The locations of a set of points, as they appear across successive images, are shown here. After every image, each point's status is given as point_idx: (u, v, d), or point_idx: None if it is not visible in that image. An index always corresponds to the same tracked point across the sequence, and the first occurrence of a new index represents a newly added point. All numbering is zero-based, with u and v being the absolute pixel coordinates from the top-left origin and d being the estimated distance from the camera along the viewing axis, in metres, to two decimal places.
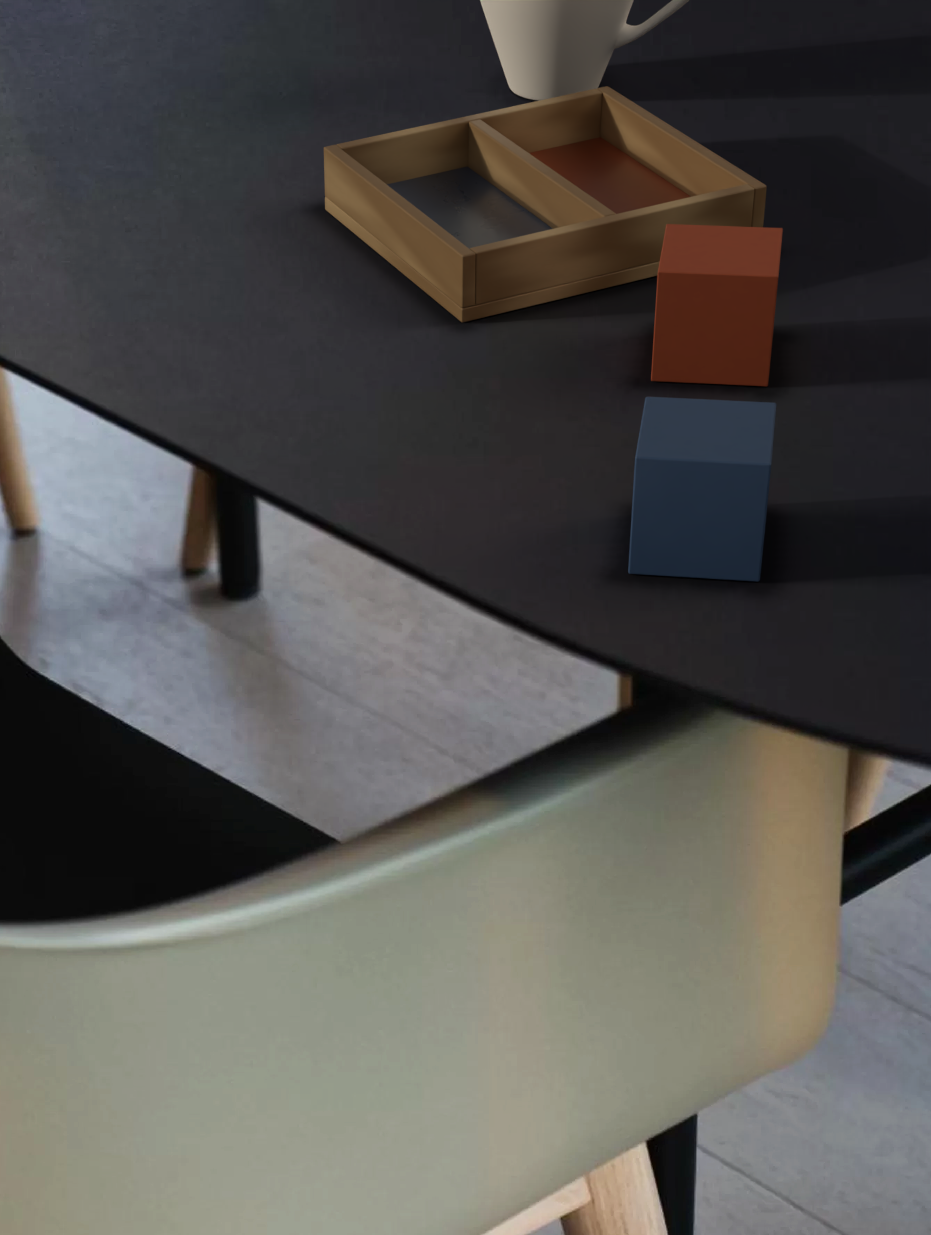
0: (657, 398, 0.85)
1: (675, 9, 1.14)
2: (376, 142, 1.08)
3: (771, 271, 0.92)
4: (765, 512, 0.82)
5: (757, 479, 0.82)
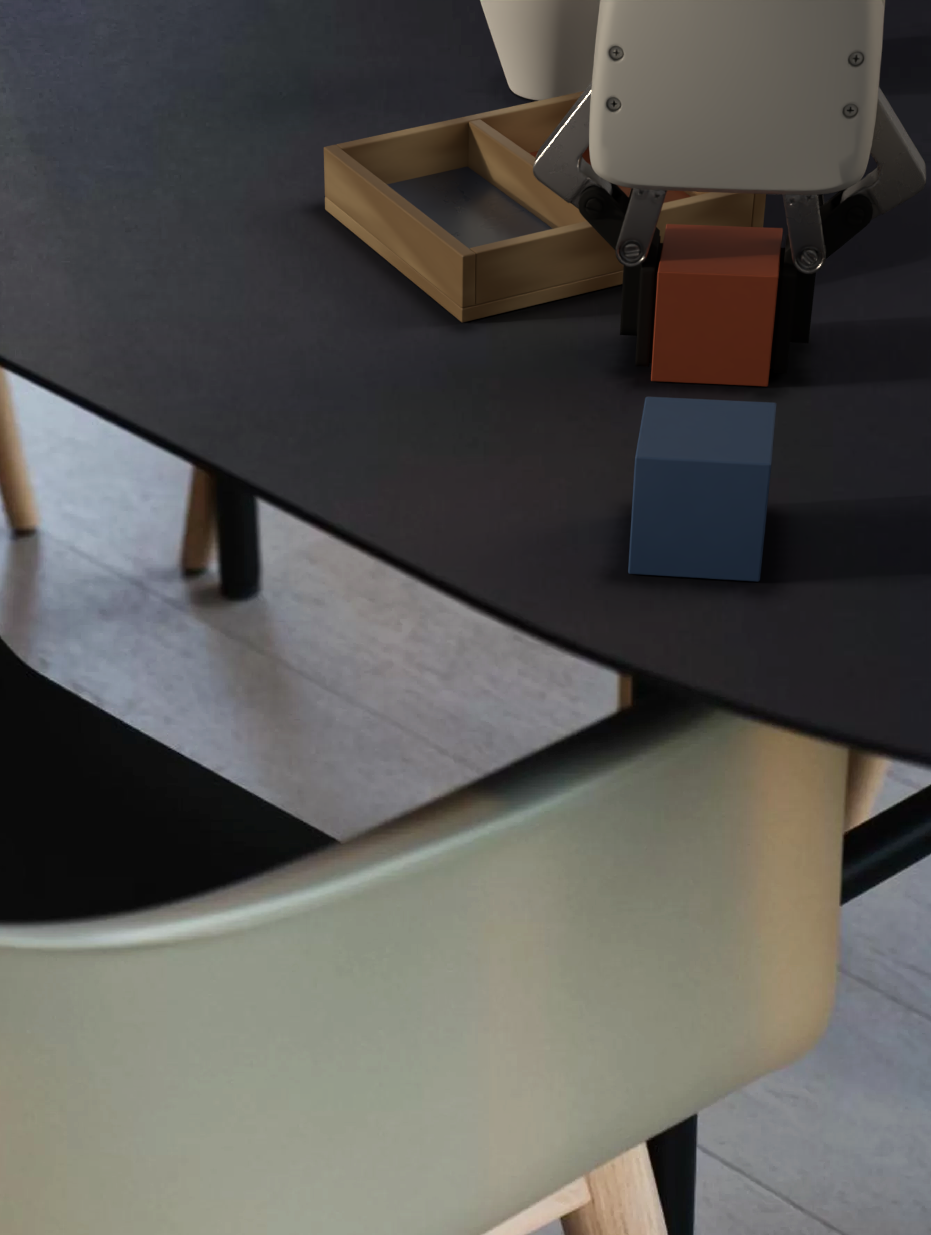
0: (657, 398, 0.85)
1: None
2: (376, 142, 1.08)
3: (771, 271, 0.92)
4: (765, 512, 0.82)
5: (757, 479, 0.82)
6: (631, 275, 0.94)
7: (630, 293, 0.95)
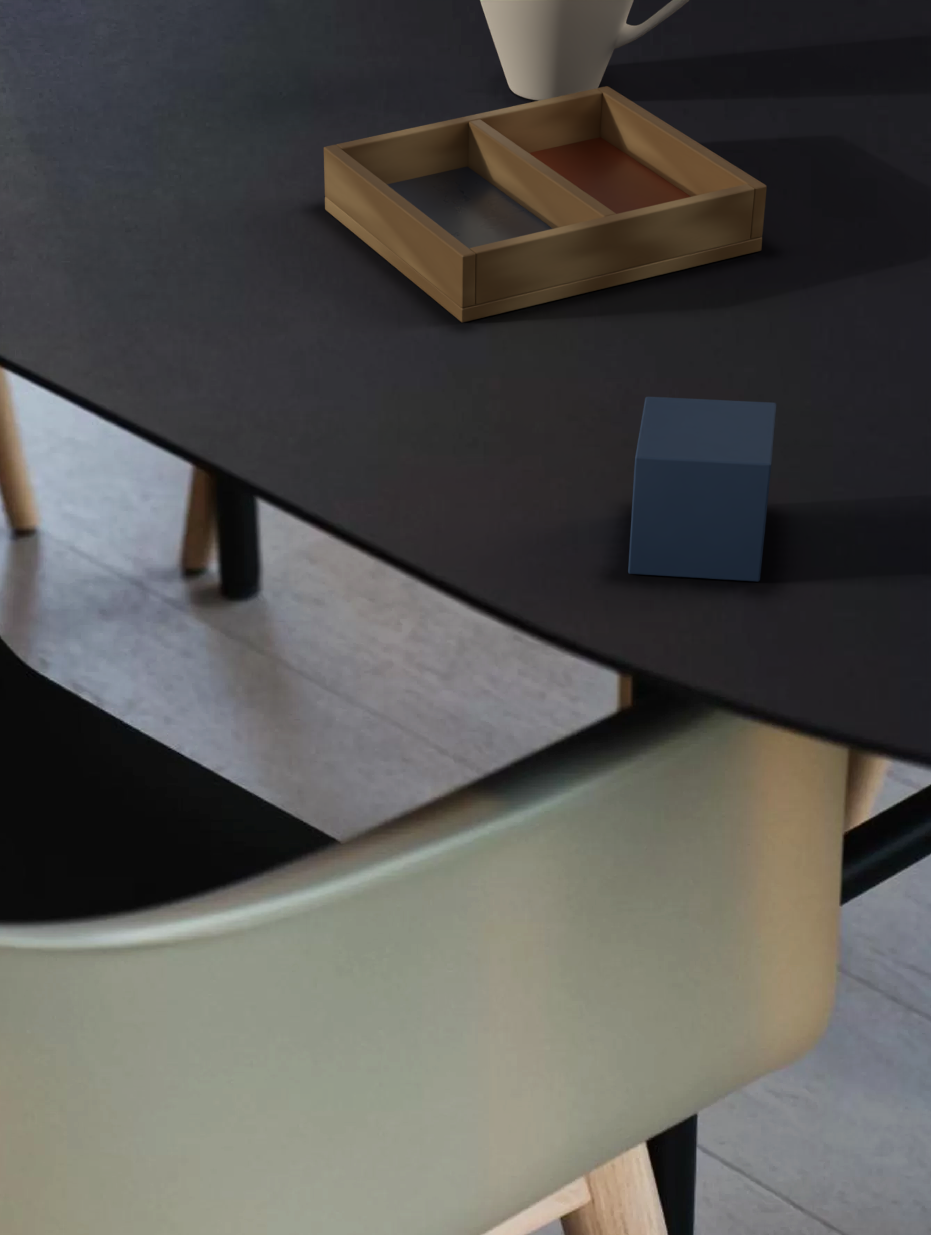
0: (657, 398, 0.85)
1: (675, 9, 1.14)
2: (376, 142, 1.08)
3: None
4: (765, 512, 0.82)
5: (757, 479, 0.82)
6: None
7: None
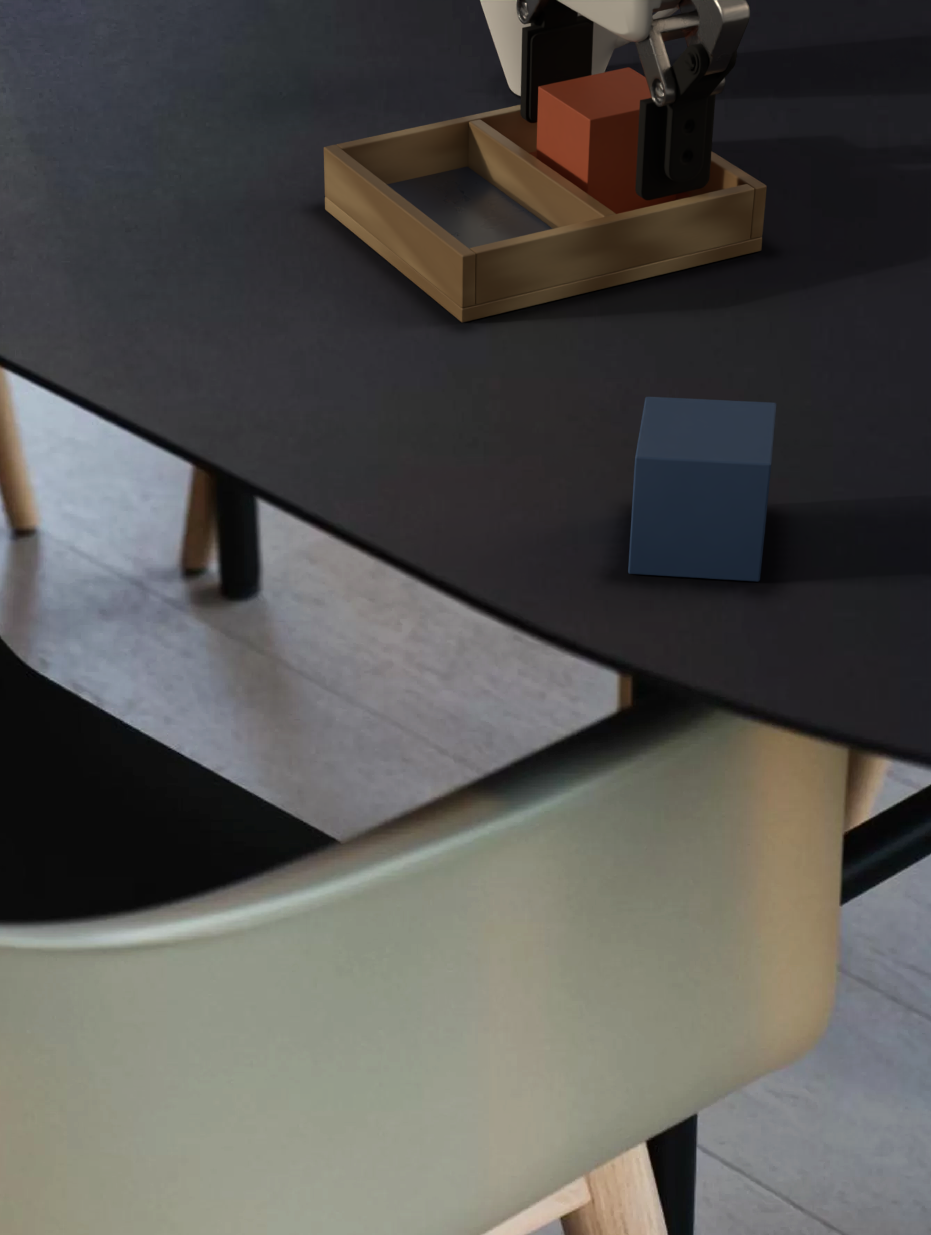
0: (657, 398, 0.85)
1: (675, 9, 1.14)
2: (376, 142, 1.08)
3: (594, 115, 1.02)
4: (765, 512, 0.82)
5: (757, 479, 0.82)
6: None
7: None
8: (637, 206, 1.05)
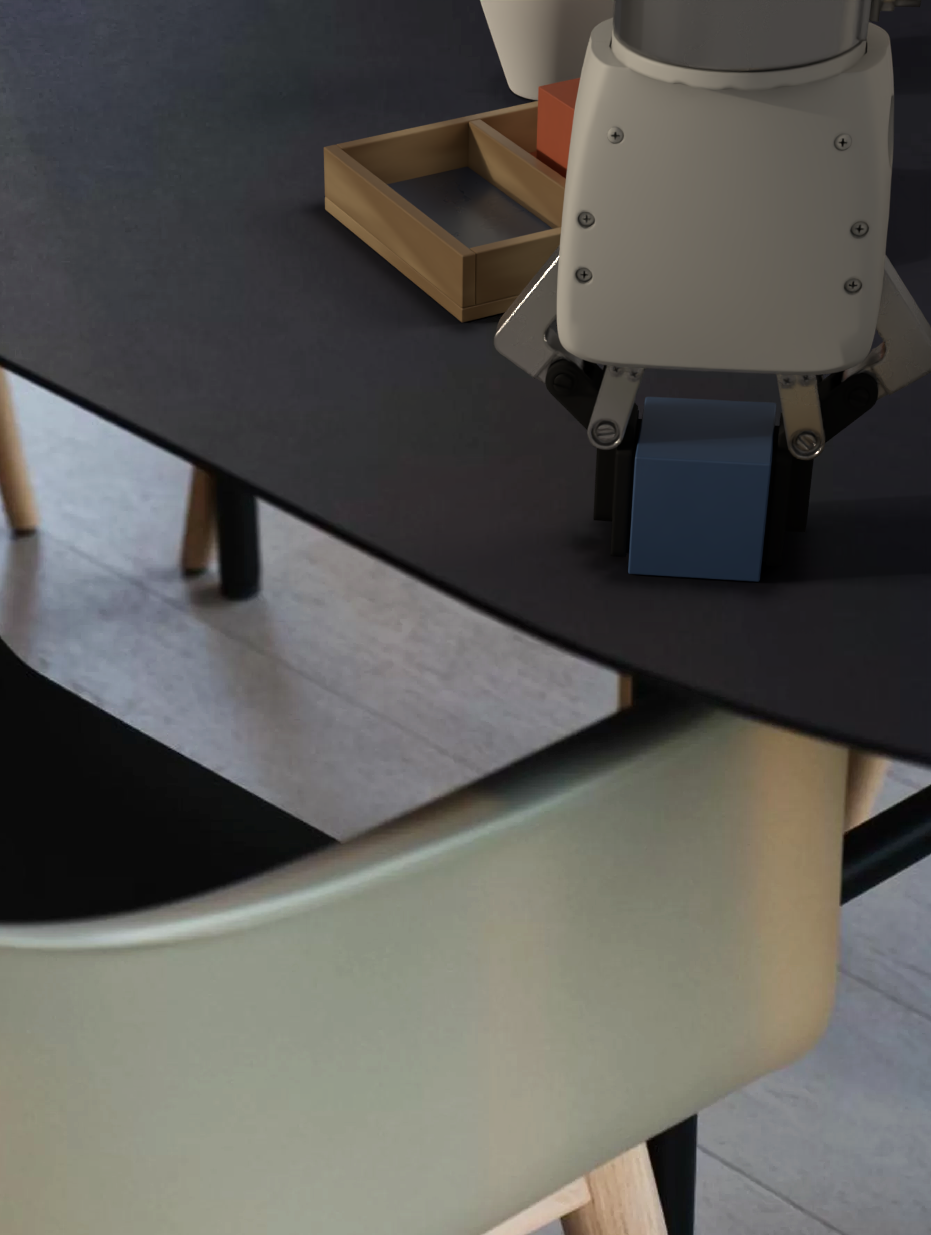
0: (657, 398, 0.85)
1: None
2: (376, 142, 1.08)
3: None
4: (765, 512, 0.82)
5: (757, 479, 0.82)
6: (605, 457, 0.84)
7: (604, 476, 0.84)
8: None
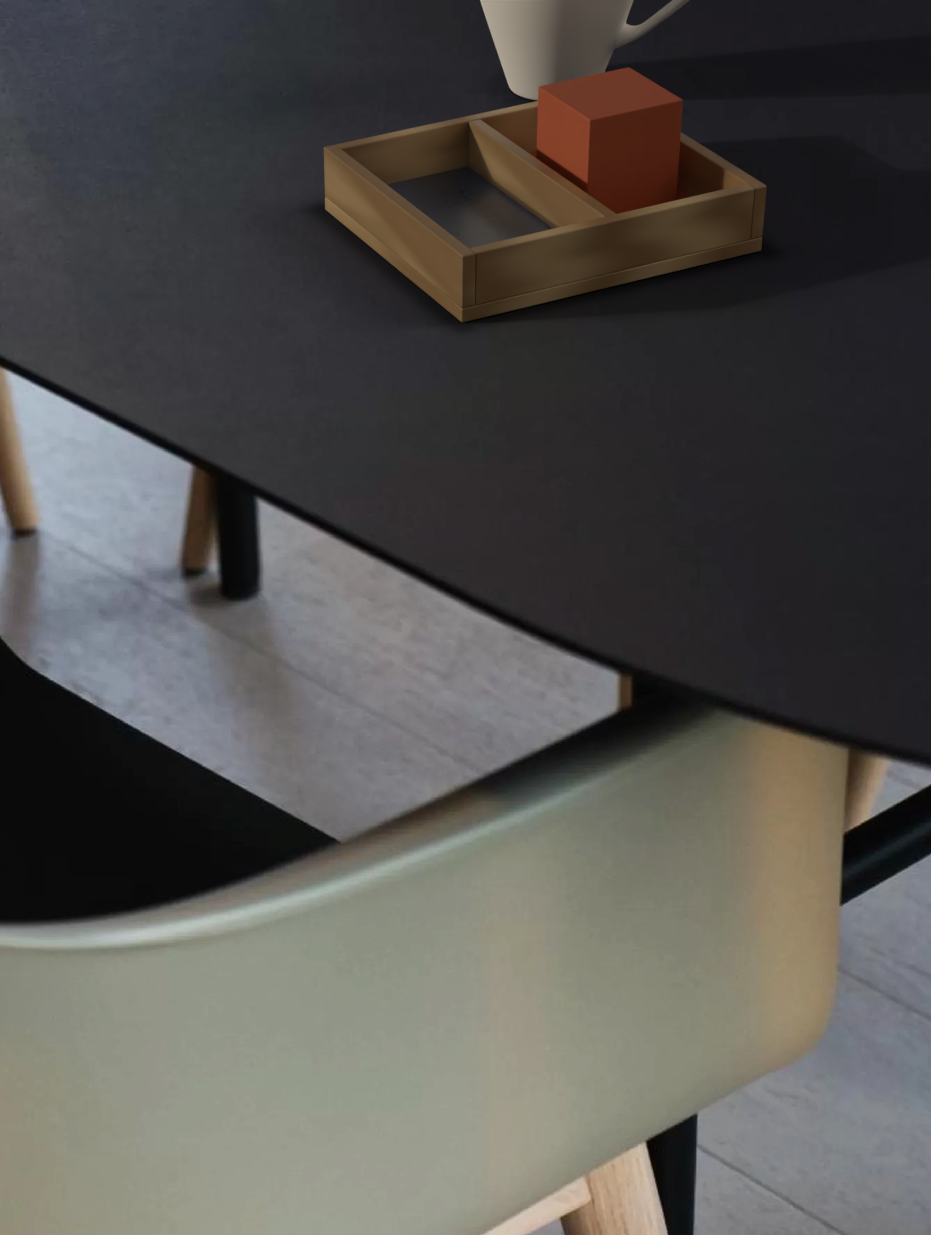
0: None
1: (675, 9, 1.14)
2: (376, 142, 1.08)
3: (594, 115, 1.02)
4: None
5: None
6: None
7: None
8: (637, 206, 1.05)
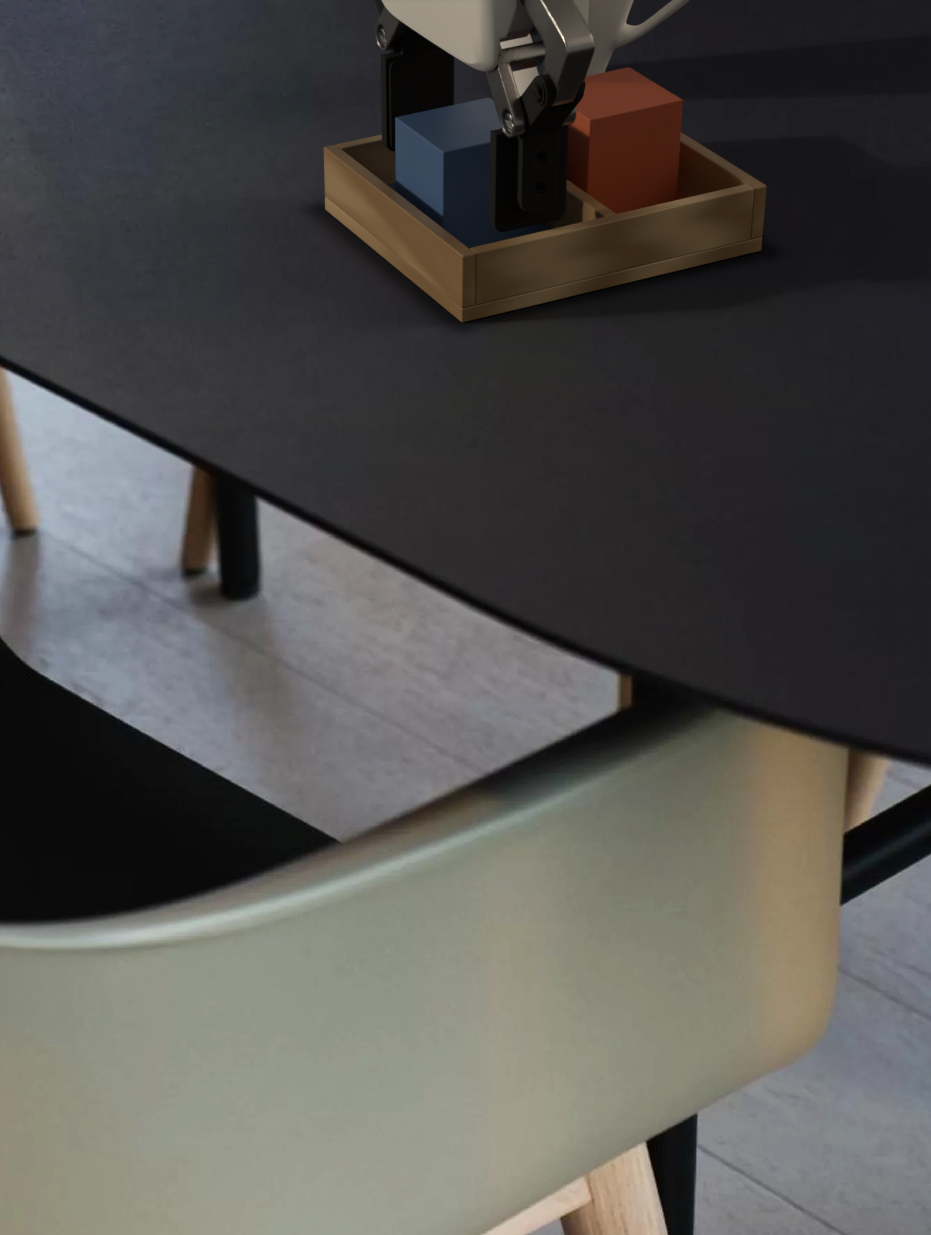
0: (490, 100, 1.04)
1: (675, 9, 1.14)
2: (376, 142, 1.08)
3: (594, 115, 1.02)
4: (443, 194, 1.01)
5: (438, 163, 1.01)
6: None
7: None
8: (637, 206, 1.05)
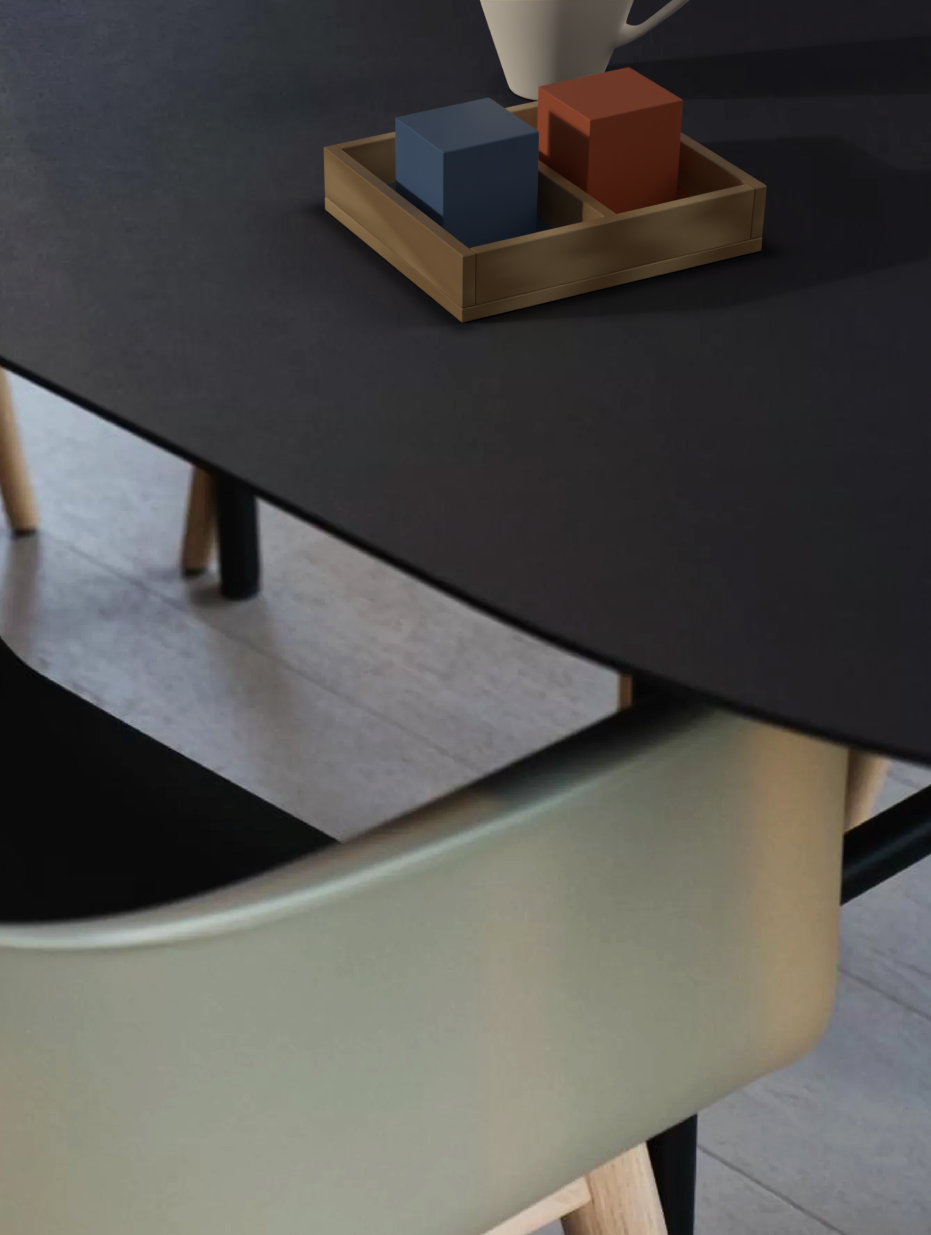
0: (490, 100, 1.04)
1: (675, 9, 1.14)
2: (376, 142, 1.08)
3: (594, 115, 1.02)
4: (443, 194, 1.01)
5: (438, 163, 1.01)
6: None
7: None
8: (637, 206, 1.05)
